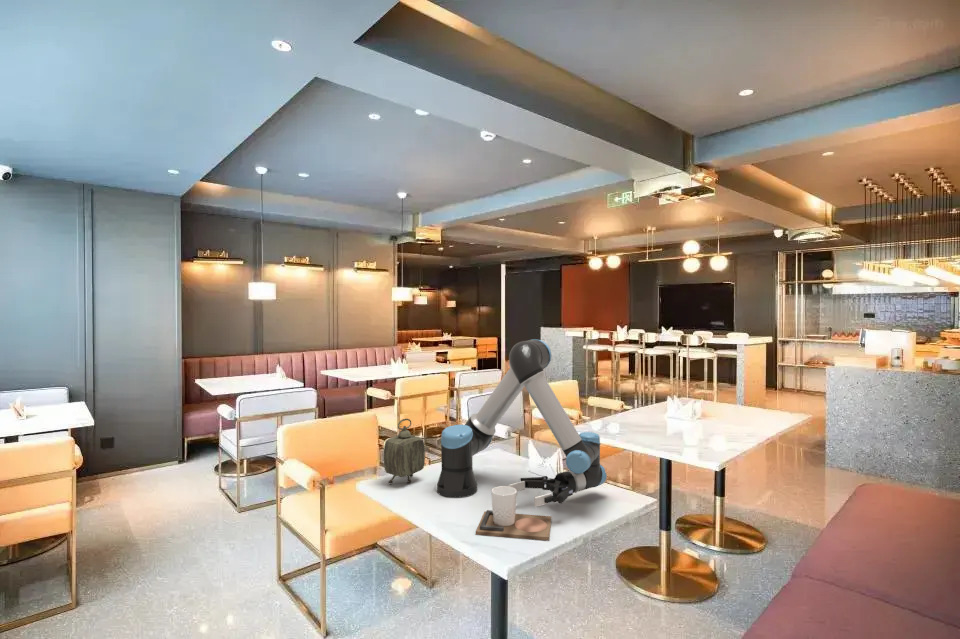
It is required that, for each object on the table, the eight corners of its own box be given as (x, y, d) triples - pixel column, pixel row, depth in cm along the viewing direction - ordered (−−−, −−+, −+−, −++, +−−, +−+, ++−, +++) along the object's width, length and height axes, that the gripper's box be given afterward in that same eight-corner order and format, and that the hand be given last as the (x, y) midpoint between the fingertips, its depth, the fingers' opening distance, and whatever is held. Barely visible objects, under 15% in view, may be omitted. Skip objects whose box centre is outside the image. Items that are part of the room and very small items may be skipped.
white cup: (514, 528, 153) (514, 496, 153) (489, 526, 155) (489, 494, 154) (518, 517, 161) (518, 486, 160) (494, 515, 162) (494, 485, 162)
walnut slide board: (475, 534, 151) (475, 528, 151) (484, 514, 166) (484, 508, 166) (549, 540, 147) (549, 534, 147) (551, 519, 162) (551, 513, 162)
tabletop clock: (411, 474, 205) (411, 414, 204) (427, 479, 199) (426, 417, 199) (383, 484, 194) (383, 420, 193) (399, 490, 188) (398, 424, 188)
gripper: (596, 504, 164) (547, 520, 152) (545, 482, 185) (499, 494, 173) (596, 481, 164) (547, 495, 152) (545, 462, 184) (499, 473, 172)
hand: (521, 495), depth 162 cm, fingers open, 13 cm apart
